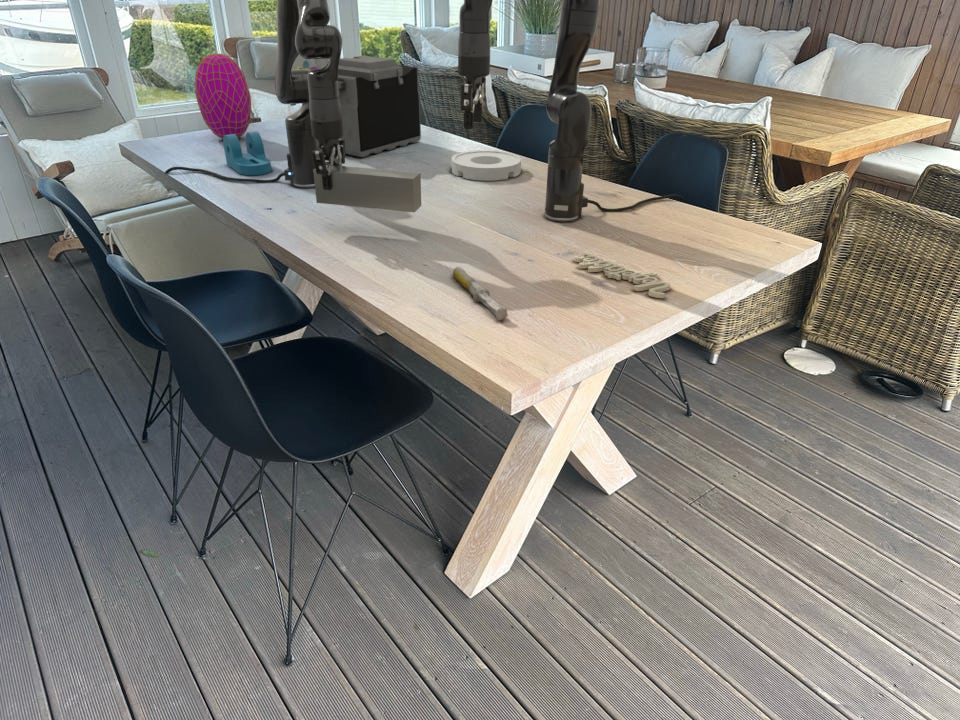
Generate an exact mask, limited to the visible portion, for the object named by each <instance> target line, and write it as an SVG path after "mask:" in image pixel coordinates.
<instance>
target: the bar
mask: <svg viewBox="0 0 960 720" xmlns="http://www.w3.org/2000/svg"><path fill="white" fill-rule="evenodd" d="M326 167H327V165H326ZM319 168H320V166H319ZM313 173H314V182H315V187H314V190H315V199H316V204H324V205H333V206H335V205H336V206H345V207H355V208H356V207H357V208H365V209H376V210H386V211H393V212H395V211H396V212H397V211H398V212H405V213H406V212H407V213H416V212H417V211H418V210H419V209H420V208H421V207H422V180H421V178H422V177H421V172H418V171H417V172H416V171H403V170H393V169H382V168H381V169H380V168H369V167H358V166H357V167H356V166H348V165H347V166H346V165H342V166H336V165H333V166H331V180H332V189H331V190H324V189H323V183H322V175H320V174H317V173H316V169H314V170H313Z"/></svg>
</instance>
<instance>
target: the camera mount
mask: <svg viewBox="0 0 960 720" xmlns="http://www.w3.org/2000/svg"><path fill="white" fill-rule="evenodd" d="M222 140H223V141H222V143H223V149H224V150H223V151H224V156H225V161H226V165H227V166H228V167H230V168H231V169H232V170H234V171H236V172H237V173H238V174H239V175H244V176H260V175H265V174H268V173H271V172H272V164H271V159H270V158H268V157H267V156H266V153H265V145H264V141H263V139H262V136H261V134H260V132H258V131H246V132H245V146H246V152H243V151H242V150H243V149H242V146H241V142H240V140H239V138H237V136H236V135H235V134H230V135H224V137H223V139H222Z"/></svg>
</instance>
